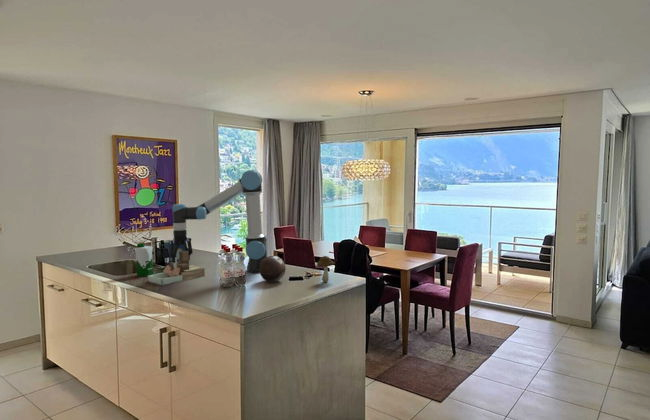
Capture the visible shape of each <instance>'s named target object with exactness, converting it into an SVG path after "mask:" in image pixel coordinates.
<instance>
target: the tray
mask: <svg viewBox="0 0 650 420" xmlns="http://www.w3.org/2000/svg"><path fill="white" fill-rule="evenodd" d="M147 282H148V283H152V284H155V285H158V286H162V287H163V286H166V285H172V284H176V283H180V282H184V281H183V280H182V275H179V276H174V277H169V275H167V274H166V273H165V272H164V271H163V272H160V273H155V274H154V273H153V274H152V275H148V276H147Z"/></svg>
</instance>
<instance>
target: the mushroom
mask: <svg viewBox="0 0 650 420" xmlns="http://www.w3.org/2000/svg"><path fill="white" fill-rule="evenodd" d="M316 265H317V267H320V268H322V267H323V273H322V277H321V280H322V282H324V283H327V282H329V277H330V276H329V271H328V269H329V268H328V267H332V266H334V265H335V262H334V261H333V260H332V259H331V258H330V256H328V255H323V256H321V257H320V258H319V260H318V261H317V263H316Z"/></svg>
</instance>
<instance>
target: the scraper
mask: <svg viewBox="0 0 650 420" xmlns="http://www.w3.org/2000/svg"><path fill="white" fill-rule="evenodd" d="M168 265H169V266H170V267H172V268H174V263H172V262H169V263H168ZM189 265H190V260H189V254H188V251H179V262H177V267H178V268H180V270H183V271H184V270H189ZM174 269H175V268H174Z"/></svg>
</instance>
